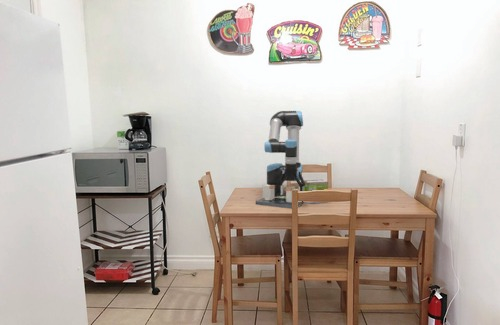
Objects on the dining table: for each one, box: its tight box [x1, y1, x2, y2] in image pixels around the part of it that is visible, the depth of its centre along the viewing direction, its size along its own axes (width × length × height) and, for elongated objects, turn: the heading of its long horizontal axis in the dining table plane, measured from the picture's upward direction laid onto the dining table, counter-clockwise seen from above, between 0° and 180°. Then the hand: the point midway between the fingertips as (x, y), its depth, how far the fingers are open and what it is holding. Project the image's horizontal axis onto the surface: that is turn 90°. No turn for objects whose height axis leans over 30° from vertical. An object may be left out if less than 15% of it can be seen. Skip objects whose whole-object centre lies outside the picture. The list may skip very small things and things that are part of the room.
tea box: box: [302, 178, 329, 204], centre depth 241 cm, size 15×10×15 cm
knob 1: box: [262, 183, 275, 201], centre depth 239 cm, size 8×5×10 cm, turn 39°
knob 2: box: [285, 185, 296, 203], centre depth 232 cm, size 8×5×10 cm, turn 154°
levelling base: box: [255, 195, 304, 209], centre depth 236 cm, size 16×28×4 cm, turn 64°
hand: (290, 195), depth 232 cm, fingers open, 12 cm apart
